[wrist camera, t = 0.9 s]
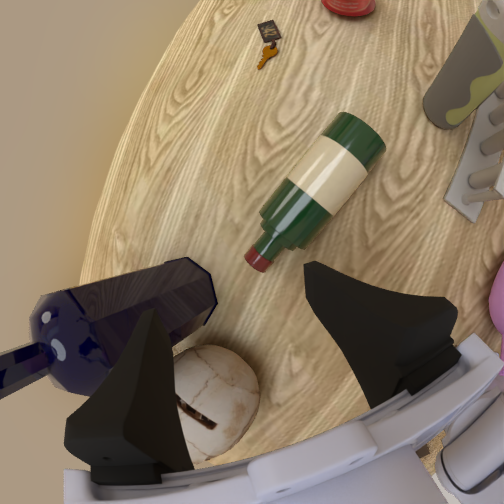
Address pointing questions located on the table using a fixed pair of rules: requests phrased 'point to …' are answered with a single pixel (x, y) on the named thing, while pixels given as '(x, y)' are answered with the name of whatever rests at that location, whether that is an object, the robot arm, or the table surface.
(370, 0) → the liquor
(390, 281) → the table surface
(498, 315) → the teapot
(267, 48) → the key tag
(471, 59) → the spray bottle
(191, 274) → the bottle
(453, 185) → the test tube rack
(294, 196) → the wine bottle
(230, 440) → the skull
